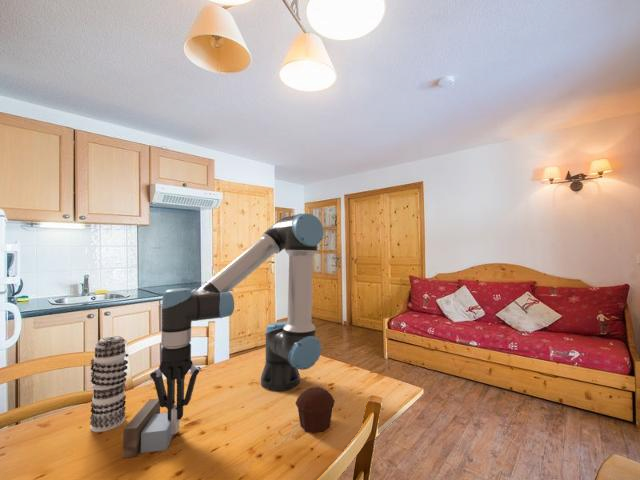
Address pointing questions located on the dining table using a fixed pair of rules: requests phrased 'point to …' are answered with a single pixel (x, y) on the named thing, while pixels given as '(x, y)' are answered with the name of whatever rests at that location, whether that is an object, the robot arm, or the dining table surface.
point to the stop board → (138, 428)
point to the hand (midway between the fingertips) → (175, 430)
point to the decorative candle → (108, 384)
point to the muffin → (315, 409)
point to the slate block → (156, 433)
